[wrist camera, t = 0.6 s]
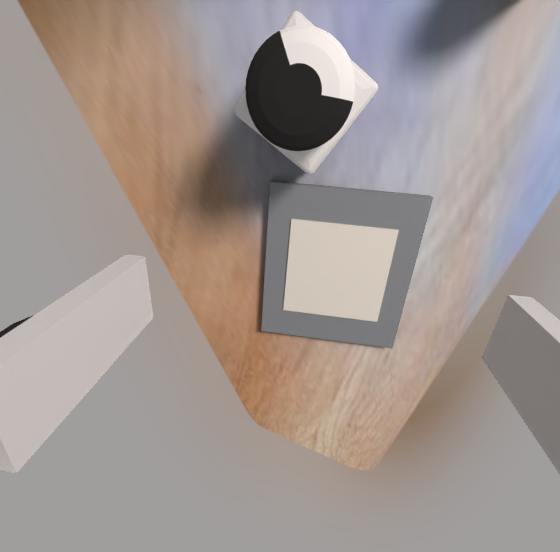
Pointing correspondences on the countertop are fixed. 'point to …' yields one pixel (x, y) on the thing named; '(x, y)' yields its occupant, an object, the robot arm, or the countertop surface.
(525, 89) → the countertop surface
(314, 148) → the container
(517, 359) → the robot arm
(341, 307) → the board
